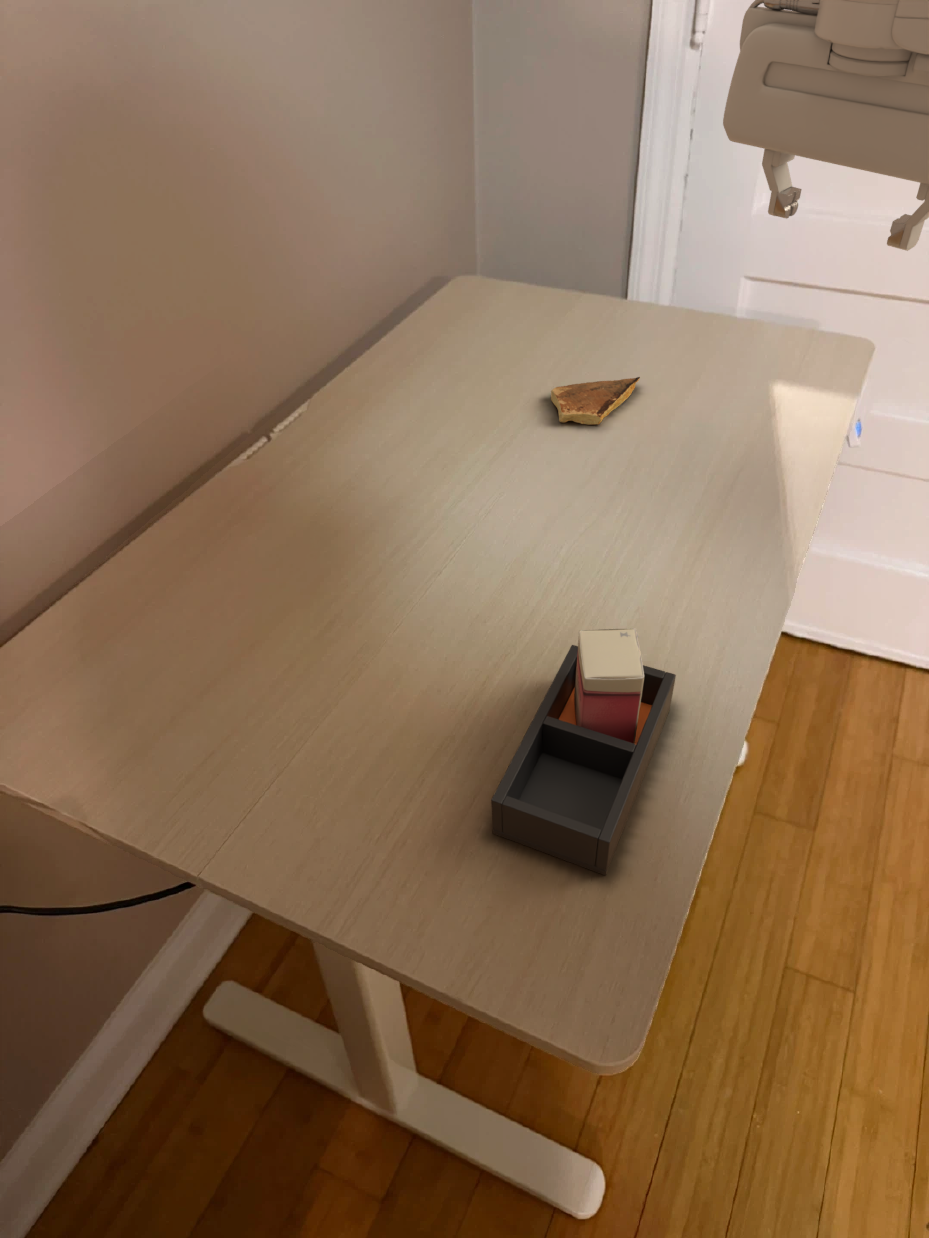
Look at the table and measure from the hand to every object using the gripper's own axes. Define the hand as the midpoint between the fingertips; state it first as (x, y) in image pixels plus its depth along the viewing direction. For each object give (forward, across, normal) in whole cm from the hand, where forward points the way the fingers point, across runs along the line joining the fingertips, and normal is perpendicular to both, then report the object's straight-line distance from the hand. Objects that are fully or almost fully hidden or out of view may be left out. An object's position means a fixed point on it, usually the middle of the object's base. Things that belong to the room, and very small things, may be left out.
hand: (839, 230), depth 65 cm
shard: (+29, -29, +8) cm, 42 cm away
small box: (+28, +4, -28) cm, 40 cm away
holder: (+29, +5, -32) cm, 44 cm away
